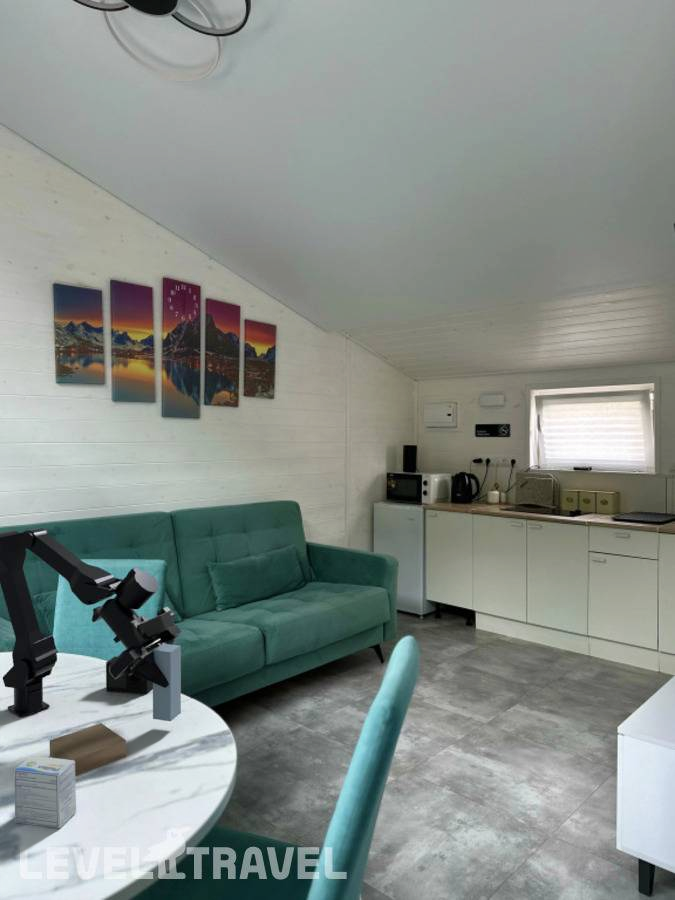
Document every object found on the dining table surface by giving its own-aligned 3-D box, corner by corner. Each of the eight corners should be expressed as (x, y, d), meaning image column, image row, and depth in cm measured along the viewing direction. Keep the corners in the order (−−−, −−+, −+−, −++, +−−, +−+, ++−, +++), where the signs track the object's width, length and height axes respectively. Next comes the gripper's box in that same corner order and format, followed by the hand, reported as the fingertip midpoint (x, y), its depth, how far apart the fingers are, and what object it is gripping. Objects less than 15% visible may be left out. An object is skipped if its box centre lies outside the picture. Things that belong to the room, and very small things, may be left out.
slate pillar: (152, 718, 128) (152, 650, 128) (163, 710, 132) (163, 643, 132) (170, 721, 127) (170, 652, 127) (180, 713, 131) (180, 645, 130)
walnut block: (49, 756, 118) (49, 740, 118) (101, 737, 126) (101, 723, 126) (72, 776, 112) (72, 759, 111) (125, 755, 119) (125, 740, 119)
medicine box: (77, 813, 101) (76, 759, 101) (59, 830, 97) (58, 774, 96) (33, 807, 102) (32, 754, 102) (13, 824, 98) (13, 768, 98)
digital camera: (102, 693, 147) (102, 663, 147) (114, 684, 153) (114, 655, 152) (144, 696, 146) (144, 666, 145) (155, 687, 151) (155, 658, 151)
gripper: (122, 610, 121) (174, 674, 118) (173, 587, 139) (219, 642, 136) (87, 647, 123) (137, 710, 121) (141, 620, 141) (186, 674, 139)
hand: (173, 682), depth 129 cm, fingers closed on slate pillar, 4 cm apart
